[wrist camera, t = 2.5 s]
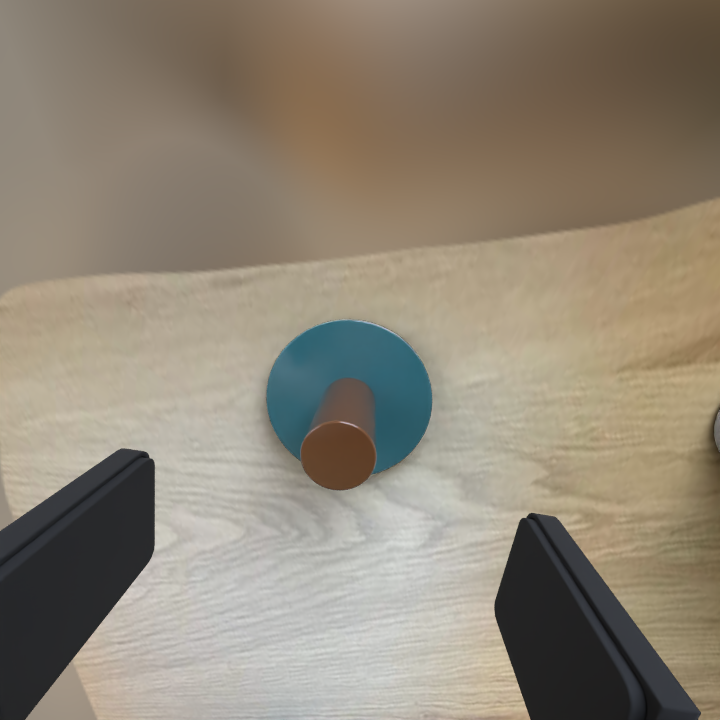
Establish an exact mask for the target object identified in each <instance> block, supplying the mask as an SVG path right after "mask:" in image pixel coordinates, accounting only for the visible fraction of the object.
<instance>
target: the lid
mask: <svg viewBox="0 0 720 720" xmlns="http://www.w3.org/2000/svg"><path fill="white" fill-rule="evenodd" d="M266 401H267V409H268V414H269V418H270V421H271V424H272V426H273V429H274V431H275V433H276V434H277V436H278V438H279V439H280V441H281V442H282V443H283V445H284V446H285V447H286V448H287V449H288V450H289V451H290V453H291V454H292V455H294V456H295V457H296V458H297V459H299V460H300V461H301V463H302V466H303V468H304V470H305V472H306V473H307V475H308V476H309V477H310V478H311V479H312V480H313V481H314V482H315V483H317V484H318V485H320V486H322V487H324V488H327V489H331V490H348V489H352V488H355V487H357V486H359V485H361V484H362V483H363V482H365V481H366V480H367V479H368V478H369V476H370V475H371V474H375V473H379V472H381V471H384V470H386V469H388V468H390V467H392V466H394V465H396V464H397V463H398V462H400V461H401V460H403V459H404V458H405V457H406V456H407V455H408V454H409V453H410V452H412V450H413V449H414V448H415V447H416V446H417V444H418V443H419V441H420V440H421V438H422V437H423V435H424V433H425V431H426V428H427V426H428V423H429V420H430V416H431V410H432V391H431V384H430V380H429V377H428V374H427V372H426V369H425V367H424V365H423V363H422V361H421V360H420V358H419V356H418V355H417V353H416V352H415V351H414V350H413V348H412V347H411V346H410V345H409V344H408V343H407V342H406V341H405V340H404V339H403V338H401V337H400V336H398V335H397V334H396V333H394V332H393V331H391V330H389V329H387V328H385V327H383V326H381V325H378V324H375V323H372V322H368V321H364V320H356V319H339V320H333V321H328V322H324V323H321V324H318V325H316V326H314V327H312V328H309V329H307V330H306V331H304V332H303V333H301V334H300V335H298V336H297V337H296V338H295V339H293V340H292V341H291V342H290V343H289V344H288V345H287V346H286V347H285V348H284V350H283V351H282V352H281V353H280V355H279V356H278V358H277V359H276V361H275V363H274V365H273V368H272V370H271V373H270V376H269V379H268V385H267V397H266Z"/></svg>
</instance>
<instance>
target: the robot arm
mask: <svg viewBox="0 0 720 720" xmlns="http://www.w3.org/2000/svg"><path fill="white" fill-rule="evenodd" d="M154 546H155V464H154V461H153V459H150V458H149V455H148V453H147V452H144V451H138V450H131V449H125V448H124V449H120V450H118V451H116V452H115V453H113V454H112V455H110V456H109V457H107V458H106V459H104V460H103V461H102V462H100V463H99V464H97V465H96V466H94V467H93V468H91V469H90V470H88V471H87V472H86V473H84V474H83V475H81V476H80V477H78V478H77V479H75V480H74V481H72V482H71V483H70V484H68V485H67V486H65V487H64V488H62V489H61V490H59V491H58V492H56V493H55V494H54V495H52V496H51V497H49V498H48V499H46V500H45V501H43V502H42V503H40V504H39V505H37V506H36V507H35V508H33V509H32V510H30V511H29V512H27V513H26V514H24V515H23V516H21V517H20V518H19V519H17V520H16V521H14V522H13V523H11V524H10V525H8V526H7V527H6V528H4V529H3V530H1V531H0V720H25V719H26V718H27V716H28V715H29V714H30V712H31V711H32V710H33V709H34V707H35V706H36V705H37V704H38V702H39V701H40V700H41V699H42V697H43V696H44V695H45V693H46V692H47V691H48V690H49V688H50V687H51V686H52V685H53V683H54V682H55V681H56V679H57V678H58V677H59V676H60V674H61V673H62V672H63V671H64V669H65V668H66V667H67V665H68V664H69V663H70V662H71V660H72V659H73V658H74V657H75V655H76V654H77V653H78V652H79V650H80V649H81V648H82V646H83V645H84V644H85V643H86V641H87V640H88V639H89V638H90V636H91V635H92V634H93V632H94V631H95V630H96V629H97V627H98V626H99V625H100V624H101V622H102V621H103V620H104V618H105V617H106V616H107V615H108V613H109V612H110V611H111V610H112V608H113V607H114V606H115V604H116V603H117V602H118V601H119V599H120V598H121V597H122V596H123V594H124V593H125V592H126V590H127V589H128V588H129V587H130V585H131V584H132V583H133V582H134V580H135V579H136V578H137V576H138V575H139V574H140V573H141V571H142V570H143V569H144V568H145V566H146V565H147V564H148V562H149V561H150V559H151V557H152V554H153V551H154ZM494 608H495V617H496V621H497V623H498V626H499V629H500V632H501V635H502V638H503V641H504V644H505V647H506V650H507V652H508V655H509V658H510V661H511V664H512V667H513V670H514V673H515V676H516V678H517V681H518V684H519V687H520V690H521V693H522V696H523V699H524V702H525V705H526V707H527V710H528V713H529V716H530V719H531V720H698V718H699V716H700V714H701V712H700V711H699V709H698V708H697V707H696V705H695V704H694V703H693V701H692V700H691V699H690V697H689V696H688V695H687V693H686V692H685V690H684V689H683V688H682V686H681V685H680V684H679V682H678V681H677V680H676V678H675V677H674V676H673V674H672V673H671V672H670V670H669V669H668V667H667V666H666V665H665V663H664V662H663V661H662V659H661V658H660V657H659V655H658V654H657V653H656V651H655V650H654V648H653V647H652V646H651V644H650V643H649V642H648V640H647V639H646V638H645V636H644V635H643V634H642V632H641V631H640V629H639V628H638V627H637V625H636V624H635V623H634V621H633V620H632V619H631V617H630V616H629V615H628V613H627V612H626V610H625V609H624V608H623V606H622V605H621V604H620V602H619V601H618V600H617V598H616V597H615V596H614V594H613V593H612V592H611V590H610V589H609V587H608V586H607V585H606V583H605V582H604V581H603V579H602V578H601V577H600V575H599V574H598V573H597V571H596V570H595V568H594V567H593V566H592V564H591V563H590V562H589V560H588V559H587V558H586V556H585V555H584V554H583V552H582V551H581V549H580V548H579V547H578V545H577V544H576V543H575V541H574V540H573V539H572V537H571V536H570V535H569V533H568V532H567V530H566V529H565V528H564V526H563V525H562V524H561V522H560V521H559V520H558V519H557V518H556V517H554V516H548V515H541V514H535V513H530V514H529V515H528V516H527V518H522V519H521V520H520V522H519V525H518V529H517V532H516V535H515V538H514V541H513V545H512V548H511V551H510V554H509V558H508V561H507V564H506V567H505V571H504V574H503V577H502V580H501V584H500V587H499V590H498V593H497V597H496V600H495V607H494Z"/></svg>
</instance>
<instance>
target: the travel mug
mask: <svg viewBox="0 0 720 720" xmlns="http://www.w3.org/2000/svg"><path fill="white" fill-rule="evenodd" d="M714 437H715V442H716V446H717V448H718V450H719V452H720V410H719V412H718V414H717V417H716V421H715V426H714Z"/></svg>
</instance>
